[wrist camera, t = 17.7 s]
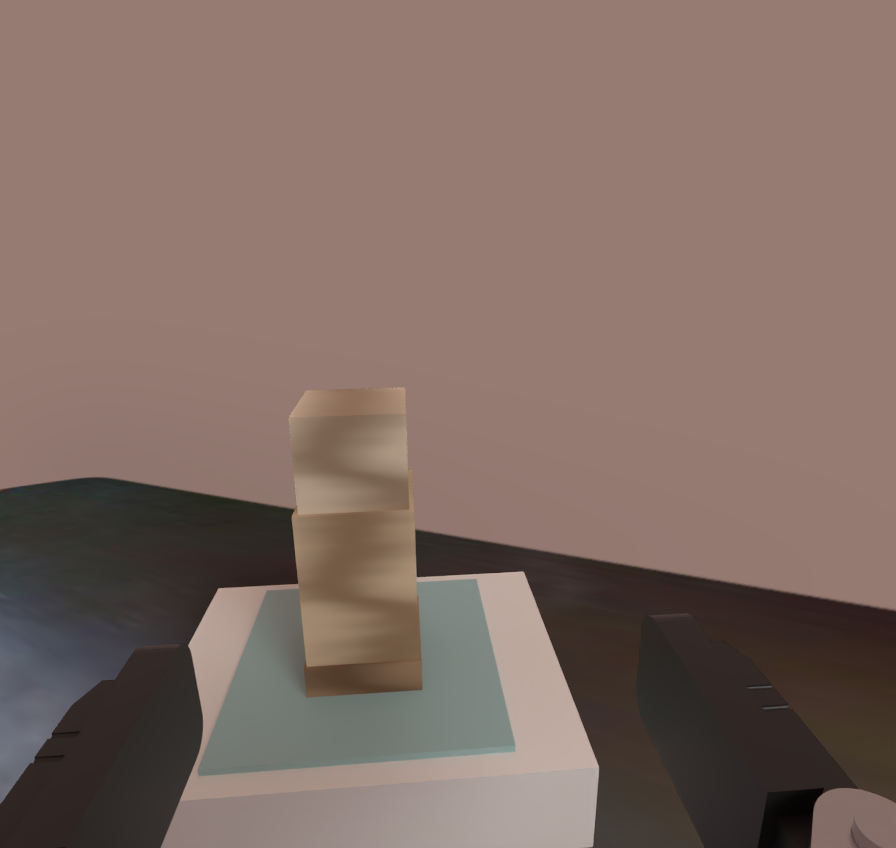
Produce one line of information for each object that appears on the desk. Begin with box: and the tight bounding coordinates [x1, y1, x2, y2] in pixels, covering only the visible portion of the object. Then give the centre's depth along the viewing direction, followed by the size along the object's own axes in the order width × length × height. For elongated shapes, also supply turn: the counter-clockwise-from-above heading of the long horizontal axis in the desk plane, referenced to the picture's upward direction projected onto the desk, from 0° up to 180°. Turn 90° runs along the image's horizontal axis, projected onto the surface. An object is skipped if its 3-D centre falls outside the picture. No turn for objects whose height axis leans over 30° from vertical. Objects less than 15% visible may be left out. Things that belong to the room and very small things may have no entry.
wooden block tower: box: [289, 387, 423, 698], centre depth 26 cm, size 5×5×12 cm
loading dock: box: [161, 572, 599, 848], centre depth 29 cm, size 18×14×4 cm
